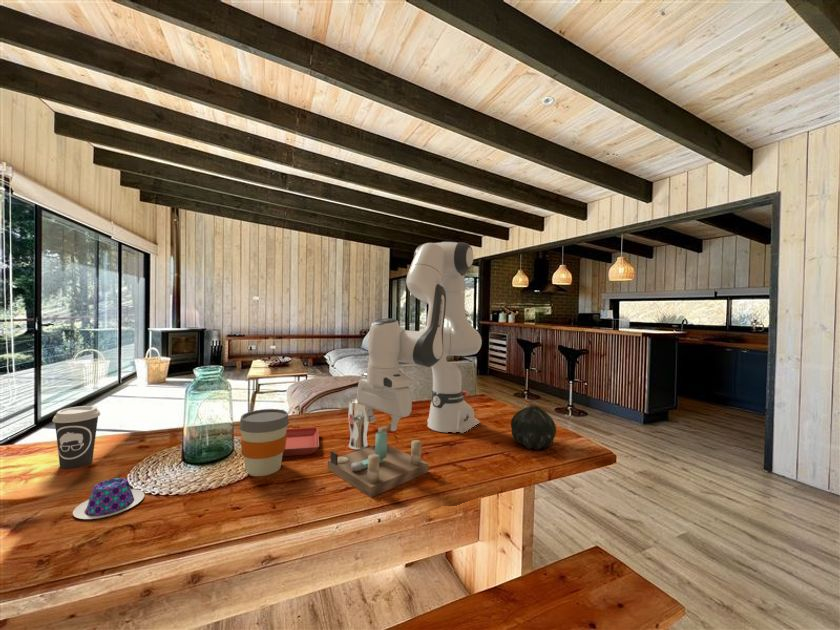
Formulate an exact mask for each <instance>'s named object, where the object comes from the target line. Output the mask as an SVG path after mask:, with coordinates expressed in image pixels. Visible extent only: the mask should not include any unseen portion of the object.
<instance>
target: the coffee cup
mask: <svg viewBox="0 0 840 630" xmlns="http://www.w3.org/2000/svg"><path fill="white" fill-rule="evenodd" d="M100 416H101V412H100V410H99V409H98V408H97V406H95V405H82V406H81V405H79V406H74V407H73V406H71V407H67V408H63V409H60V410H58V411H57V412H56V413H55V415H54V416H53V418H52V422H53V423H54V426H55V434H56V436H55V437H56V445H57V452H58V454H57V455H58V461H59V463H58V464H59V468H60V469H63V470H64V469H65V470H69V469H76V468H80V467H83V466H86V465H87V466H88V465H89V464H91V463H92V462H93V459H94V452H95V444H96V443H95V442H96V437H97V436H96V435H97V428H98V427H97V426H98V420H99V417H100Z"/></svg>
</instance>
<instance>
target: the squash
mask: <svg viewBox="0 0 840 630" xmlns="http://www.w3.org/2000/svg"><path fill="white" fill-rule="evenodd" d="M510 428H511V436H512V437H513V439H514V440H515V441H516V442H517V443H519V444H521V445H523V446H524V447H525V448H527V449H529V450H530V449H532V448H533V449H535V450H538V451H539V450H541V449H548V448H550V446H551V445H552V444H553V442H554V440H555V437H556V434H557V426H556V422H555V421H554V419H553V418H552V417H551V415H550V414H549V413H547V412H546V411H545V410H543V409H541V408H540V407H539V406H537V405H530V406H527V407H524V408H522V409H521V410H518V411H517V412H515V413H514V414H513V416H512V418H511V420H510Z"/></svg>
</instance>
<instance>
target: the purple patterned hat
mask: <svg viewBox="0 0 840 630" xmlns="http://www.w3.org/2000/svg"><path fill="white" fill-rule="evenodd" d="M90 493H91V494H90V496H89V499H87V500H85V501H83V502H81V503H80V504H79V505H77V506H76V507H75V508H74V509H73V511H72V516H73V517H75V518H77V519H80V520H93V519H102V518H105V517H110V516H113V515H117V514H119V513H122V512H124V511H127V510H129V509H131V508H133V507H135V506H136V505H138V504H139V503H140V502H141V501H142V500H143V499H144V498H145V492H144V491H143V490H140V489H136V488H135V489H134V488H131V485H130V482H129V480H128V479H126V478H124V477H115V478H110V479H106V480H102V481H100V483H97V484H96V485H94V487H93V488H92V489H91V492H90Z"/></svg>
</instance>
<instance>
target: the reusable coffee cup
mask: <svg viewBox="0 0 840 630" xmlns="http://www.w3.org/2000/svg"><path fill="white" fill-rule="evenodd" d="M288 413H289V412H287V411H286V410H283V409H279V408H266V409H265V408H264V409H263V408H262V409H256V410H251V411H248V412H246V413H244V414H242V415H240V420H239V425H238V427H239V430H240V431H241V432H240V433H241V436H240V438H239V439H240V440H239V441H240V448H241V455H242V457H243V459H244V466H245V472H246V471H247V472H248V473H250V475H249V476H252V477H262V476H263V477H264V476H269V475H272V474H276V473H277V472H278V471H280V470H281V466H282V460H283V456H282V455H283V451H284V450H285V446H286V439H287V431H286V429H288V425H289V424H290V423H289V414H288Z"/></svg>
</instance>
